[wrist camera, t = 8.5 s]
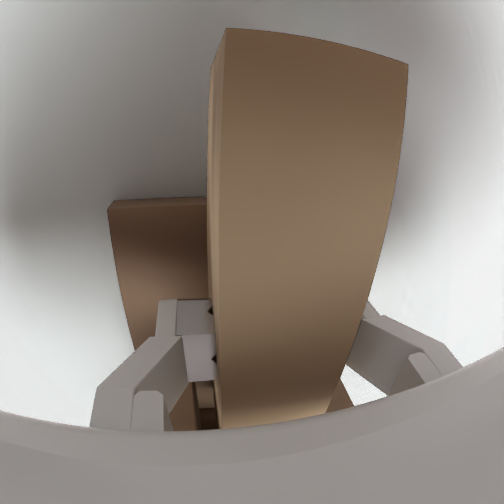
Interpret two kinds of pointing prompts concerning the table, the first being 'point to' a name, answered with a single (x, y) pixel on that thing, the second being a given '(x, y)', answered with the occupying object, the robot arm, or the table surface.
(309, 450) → the robot arm
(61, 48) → the table surface
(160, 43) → the table surface
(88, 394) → the table surface
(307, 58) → the bed rail
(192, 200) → the wooden chair
